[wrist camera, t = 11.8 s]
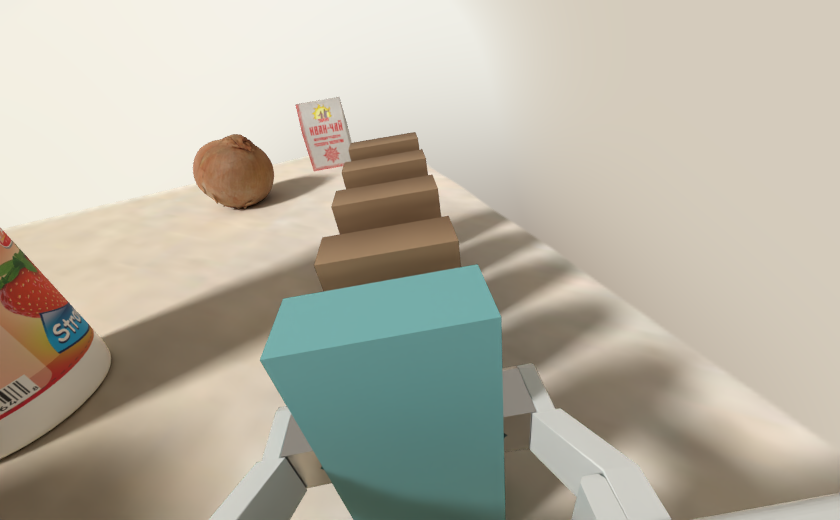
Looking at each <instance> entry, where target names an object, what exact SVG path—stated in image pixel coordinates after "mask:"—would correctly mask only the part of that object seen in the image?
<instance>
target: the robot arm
mask: <svg viewBox="0 0 840 520" xmlns="http://www.w3.org/2000/svg"><path fill="white" fill-rule="evenodd" d="M502 376H503V426H504V452H510V451H517V450H523V449H530V450H531V451H532V452H533V453H534V454H535V456H536V457H537V458H538V459H539V460H540V461H541V462H542V463H543V464H544V465H545V466H546V467H547V468H548V469H549V470H550V471H551V472H552V473H553V474H554V475H555V476H556V477H557V478H558V479H559V480H560V481H561V482H562V483H563V484H564V485H565V486H566V487H567V488H568V489H569V490H570V491H571V492H572V493H573V494H574V495H575V496H576V497H577V499H576V503H575V507H574V511H573V515H572V519H571V520H672V519H671V517H670V516H669V514H668V512H667V511H666V509H665V507H664V506H663V504H662V503H661V501H660V499H659V498H658V496H657V494H656V493H655V491H654V490H653V488H652V486H651V485H650V483H649V481H648V480H647V478H646V476H645V475H644V473H643V472H642V470H641V468H640V467H639V465H638V464H636V463H635V462H633V461H632V460H631V459H629V458H628V457H627V456H625V455H624V454H622V453H621V452H620V451H618V450H617V449H616V448H614V447H613V446H612V445H610V444H609V443H607V442H606V441H605V440H603V439H602V438H601V437H599V436H598V435H597V434H595V433H594V432H592V431H591V430H590V429H588V428H587V427H586V426H584V425H583V424H582V423H580V422H579V421H577V420H576V419H575V418H573V417H572V416H571V415H569V414H568V413H566V412H565V411H564V410H562V409H561V408H559V409H556V408H555V406H554V404H553V402H552V400H551V398H550V396H549V394H548V392H547V390H546V388H545V386H544V384H543V382H542V380H541V378H540V376H539V373H538V371H537V369H536V367H535V366H534V365H533V364H532V363H529V364H523V365H518V366H510V367H505V368H502ZM330 483H332V482H331V480H330V479H329V477H328V475H327V474H326V472H325V470H324V468H323V467H322V465H321V463H320V462H319V460H318V458H317V457H316V455H315V453H314V451H313V450H312V448H311V446H310V445H309V443H308V441H307V439H306V438H305V436H304V434H303V433H302V431H301V429H300V428H299V426H298V424H297V422H296V421H295V419H294V417H293V416H292V414H291V412H290V411H289V409H288V407H287V406H285V407H279V408H278V410H277V411H276V413H275V416H274V420H273V423H272V427H271V430H270V434H269V437H268V441H267V444H266V447H265V451H264V454H263V458H262V461H260V462H256V464H255V465H254V466H253V467H252V468H251V470H250V471H249V472H248V473H247V474H246V476H245V477H244V478H243V479H242V480H241V481H240V483H239V484H238V485H237V486H236V487H235V489H234V490H233V491H232V492H231V493H230V495H229V496H228V497H227V498H226V499H225V501H224V502H223V503H222V504H221V505H220V506H219V508H218V509H217V510H216V511H215V512H214V514H213V515H212V516H211V517H210V518H209V520H290V519H291V517H292V515H293V513H294V512H295V510H296V508H297V507H298V505H299V503H300V502H301V500H302V498H303V496H304V495H305V493H306V491H307V489H306V488H311V487H316V486H320V485H325V484H330ZM691 520H840V493H835V494H829V495H824V496H818V497H813V498H807V499H802V500H796V501H791V502H785V503H779V504H774V505H768V506H763V507H757V508H752V509H746V510H741V511H735V512H729V513H724V514H718V515H713V516H707V517H702V518H696V519H691Z"/></svg>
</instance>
